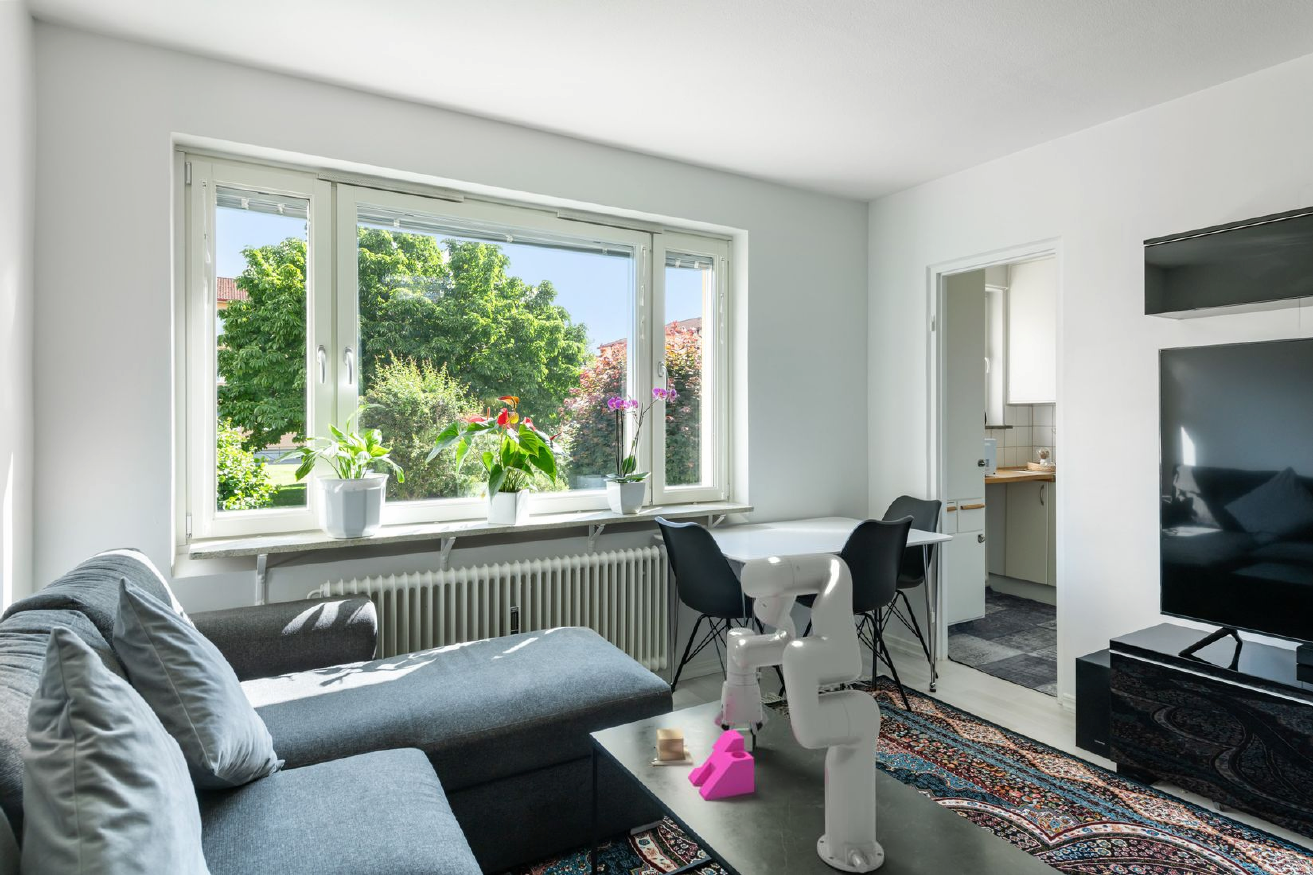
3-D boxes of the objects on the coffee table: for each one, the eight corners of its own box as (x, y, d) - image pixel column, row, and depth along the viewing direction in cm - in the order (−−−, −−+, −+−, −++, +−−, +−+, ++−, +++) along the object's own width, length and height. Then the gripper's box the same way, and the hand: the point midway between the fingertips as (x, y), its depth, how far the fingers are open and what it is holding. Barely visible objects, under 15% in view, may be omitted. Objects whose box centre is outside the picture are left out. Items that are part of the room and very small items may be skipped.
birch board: (692, 766, 175) (692, 761, 175) (652, 768, 174) (652, 763, 174) (686, 748, 185) (686, 744, 185) (648, 750, 184) (648, 746, 184)
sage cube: (752, 752, 183) (752, 735, 183) (735, 753, 182) (734, 736, 182) (748, 745, 187) (748, 728, 187) (731, 746, 187) (731, 729, 187)
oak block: (680, 748, 183) (680, 728, 183) (683, 758, 177) (683, 738, 177) (657, 749, 182) (657, 729, 182) (659, 759, 176) (659, 739, 176)
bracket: (734, 772, 172) (734, 729, 172) (754, 792, 163) (753, 746, 163) (688, 779, 169) (688, 736, 169) (704, 800, 159) (704, 754, 159)
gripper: (769, 671, 189) (769, 740, 189) (706, 674, 188) (706, 744, 188) (777, 681, 182) (777, 753, 182) (711, 683, 180) (712, 756, 180)
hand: (741, 747), depth 185 cm, fingers closed on sage cube, 4 cm apart
